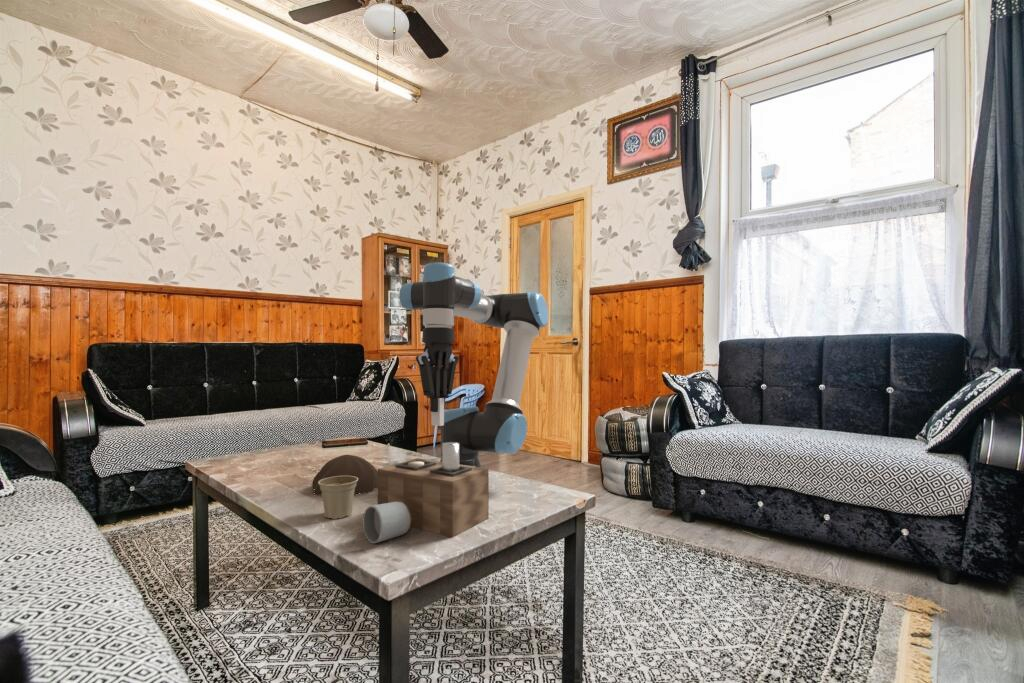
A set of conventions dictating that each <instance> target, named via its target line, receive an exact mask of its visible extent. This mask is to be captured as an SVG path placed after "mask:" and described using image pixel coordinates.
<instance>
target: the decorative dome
mask: <svg viewBox="0 0 1024 683" xmlns="http://www.w3.org/2000/svg"><path fill="white" fill-rule="evenodd" d="M334 476H355V477H357V478H358V481H357V483H356V487H355V491H354V496H357V495H360V494H359V493H361V494H368V492H369V493H372V492H373V491H374V490H376V489H378V469H377V468H376V467H375V466H374V465H373V464H372V463H371V462H369V461H368V460H367V459H365V458H363V457H362V456H357V455H351V454H343V455H339V456H337V457H334V458H332V459H330V460H328V461H327V462H326V463H325V464H324V465H323V466H322V467H321V468H320V470H319V471H318V472H317V473H316V475H314V478H313V479H312V482H311V489H312V488H313V489H312V490H313V493H315V494H314V495H318V494H322V491H321V489H320V485H319V484H318V482H319V481H320V480H321V479H324V478H329V477H334ZM375 488H376V489H375ZM314 489H315V490H314ZM356 494H357V495H356Z"/></svg>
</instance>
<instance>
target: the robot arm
mask: <svg viewBox="0 0 1024 683" xmlns="http://www.w3.org/2000/svg"><path fill="white" fill-rule="evenodd" d="M455 272H456V270H455V267H454V265H453V264H451V263H447V262H430V263H427V264H425V265H424V267H423V276H422V277H423V278H422V281H417V282H416V281H412V282H406V283H403V285H402V286H401V287H400V289H399V293H398V294H399V297H398V300H399V302H400V305H401V306H402V307H403V308H404V309H405V310H410V311H417V310H422V325H423V326H424V328H423V329H422V343H423V344H424V349H423V353H422V354H421V355H417V356H415V360H416V362H417V365H418V369H419V374H420V379H421V387H422V392H423V394H422V395H423V396H425V397H427V399H430V400H429V402H430V403H429V411H430V412H431V418H430V419H431V421H430V423H431V425H430V426H436V427H440V459H439V460H440V462H442V445H443V443H446V442H458V443H459V455H468V456H472V457H474V466H475V467H481V468H483V467H482V463H481V460H480V457H479V454H480V453H479V452H487V453H495V454H499V455H504V454H515V453H517V452H518V451H519V450H520V449H521V448H522V446H523V445H524V443H525V440H526V438H527V433H528V427H527V426H528V421H527V417H525V416H524V414H523V413H524V411H523V409H522V408H521V407H520V405H521V404H520V403H521V399H522V394H523V389H524V384H525V378H526V374H527V369H528V362H529V358H530V355H531V348H532V344H533V339H534V338H536V337H537V336H538V335H539V333H540V328H545V327H546V326H547V325H548V322H549V309H548V305H547V302H546V300H545V298H544V296H543V294H542V293H540V292H536V291H533V292H532V291H531V292H530V291H527V292H515V293H500V294H498V293H497V294H489V295H485V294H482V289H481V287H480V286H479V284H477V282H474V281H473V280H471V279H469V278H462V277H459V276H456V273H455ZM455 317H459V318H463V319H464V318H465V319H469V320H471V322H472V323H475V324H479V325H484V326H487V327H493V328H498V329H504V331H505V332H506V336H505V340H504V345H503V349H502V354H501V357H500V362H499V367H498V372H497V376H496V378H495V379H496V381H495V384H494V389H493V393H492V397H491V400H489V401H488V402H486V403H485V404H484V405H485V406H484V411H480V409H479V407H478V406H466V407H459V408H451V409H446V399H448V398H450V395H452V393H453V388H454V386H453V385H454V380H455V375H456V374H455V373H456V368H457V365H458V363H459V360H460V357H459V356H458V355H454V353H453V348H452V344H454V341H455V330H454V328H453V327H454V326H455Z"/></svg>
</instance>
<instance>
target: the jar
mask: <svg viewBox="0 0 1024 683" xmlns="http://www.w3.org/2000/svg"><path fill="white" fill-rule="evenodd" d="M459 464H461V465H467V466H474V457H472V456H468V455H459ZM474 467H475V466H474Z"/></svg>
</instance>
